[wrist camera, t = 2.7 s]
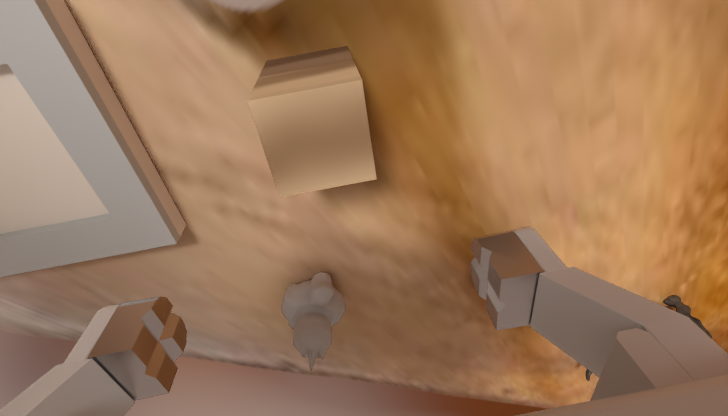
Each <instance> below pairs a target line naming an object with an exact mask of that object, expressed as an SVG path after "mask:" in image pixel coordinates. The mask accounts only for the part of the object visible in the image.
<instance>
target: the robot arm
mask: <svg viewBox="0 0 728 416" xmlns="http://www.w3.org/2000/svg"><path fill="white" fill-rule="evenodd" d="M471 250H472V252H473V254H474V256H475V257H474V259H473V260H472V261H471V275H472V280H473V284H474V286H475V289H476V291H477V293H478V295H479V296H480V297H481V298H483V299H485V300H486V311H487V313H488V315H489V317H490V319H491V321H492V323H493V325H494V327H495V329H496V330H502V329H508V328H515V327H521V326H527V325H530V327H531V328H532V329H534V330H535V331H536V332H538V333H539V334H540V335H542V336H543V337H545V338H546V339H547V340H549V341H550V342H551V343H553V344H554V345H555V346H557V347H558V348H560V349H561V350H562V351H564V352H565V353H566V354H568V355H569V356H571V357H572V358H573V359H575V360H576V361H577V362H579V363H580V364H581V365H583V366H584V367H586V368H587V369H588V370H590V371H591V372H592V373H594V374H595V375H596V376H598V377H599V380H598V382H597V385H596V388H595V390H594V393H593V395H592V398H591V400H590V401H588V402H583V403H578V404H573V405H568V406H562V407H557V408H552V409H547V410H542V411H537V412H532V413H527V414H521V415H517V416H728V354H727V353H726V352H725V351H724V350H723V349H722V348H721V347H720V346H719V345H718V344H717V343H715V342H714V341H713V340H712V339H711V338H710V337H709V336H708V335H707V334H706V333H705V332H704V331H703V330H701V329H700V328H699V327H698V326H697V325H696V324H695V323H694V322H693V321H692V320H691V319H690V318H689V317H687V316H685V315H682V314H680V313H678V312H676V311H673V310H671V309H669V308H666V307H664V306H662V305H660V304H657V303H655V302H653V301H650V300H648V299H646V298H644V297H641V296H639V295H637V294H634V293H632V292H630V291H628V290H625V289H623V288H621V287H618V286H616V285H614V284H612V283H609V282H607V281H605V280H602V279H600V278H598V277H596V276H593V275H591V274H589V273H586V272H584V271H582V270H580V269H577V268H575V267H570V268H567V267H566V265H565V264H564V263H563V262H562V261H561V260H560V258H559V257H558V256H557V255H556V254H555V253H554V251H553V250H552V249H551V248H550V247H549V246H548V245H547V243H546V242H545V241H544V240H543V239H542V238H541V236H540V235H539V234H538V233H537V232H536V231H535V230H534V228H532V227H530V226H529V227H524V228H519V229H514V230H510V231H506V232H501V233H495V234H490V235H485V236H480V237H475V238H473V239H472V242H471ZM172 307H173V306H172V304H171V303H170V302H169V300H168V299H167V298H166V297H156V298H150V299H144V300H138V301H132V302H126V303H123V304H116V305H110V306H104V307H103V308H101V309H99V310H98V311H97V312H96V314H95V315H94V317H93V319H92V320H91V322H90V323H89V325H88V326H87V328H86V329H85V331H84V332H83V334H82V335H81V337H80V339H79V340H78V342H77V343H76V345H75V346H74V348H73V349H72V351H71V352H70V354H69V356H68V357H67V359H66V360H65V362H64V363H63V364H59V365H56V366H55V367H54V368H52V369H51V370H50V371H49V372H47V373H46V374H45V375H44V376H42V377H41V378H40V379H38V380H37V381H36V382H35V383H33V384H32V385H31V386H30V387H28V388H27V389H26V390H24V391H23V392H22V393H21V394H19V395H18V396H17V397H16V398H14V399H13V400H12V401H10V402H9V403H8V404H7V405H5V406H4V407H3V408H2V409H0V416H124V415H125V414H126V413H127V412H128V410H129V409H130V408H131V407H132V406H133V404H134V403H135V400H140V399H144V398H148V397H153V396H158V395H162V394H167V393H169V391H170V388H171V386H172V383H173V380H174V377H175V374H176V372H177V366H176V364H175V360H176V359H177V358H178V357H179V356H180V355H181V354H182V353H183V351H184V348H185V345H186V337H187V331H186V327H185V324H184V322H183V320H182V319H181V317H179V316H177V315H175V314H173V313H171V310H172Z"/></svg>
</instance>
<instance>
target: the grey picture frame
mask: <svg viewBox="0 0 728 416" xmlns="http://www.w3.org/2000/svg"><path fill="white" fill-rule="evenodd" d="M185 226H186V223H185V221H184V220H183V218H182V216H181V214H180V212H179V210H178V209H177V207H176V205H175V203H174V201H173V199H172V198H171V196H170V194H169V192H168V190H167V188H166V187H165V185H164V183H163V181H162V179H161V177H160V176H159V174H158V172H157V170H156V168H155V166H154V165H153V163H152V161H151V159H150V157H149V155H148V154H147V152H146V150H145V148H144V146H143V144H142V143H141V141H140V139H139V137H138V135H137V133H136V132H135V130H134V128H133V126H132V124H131V122H130V121H129V119H128V117H127V115H126V113H125V111H124V110H123V108H122V106H121V104H120V102H119V100H118V99H117V97H116V95H115V93H114V91H113V89H112V87H111V86H110V84H109V82H108V80H107V78H106V76H105V75H104V73H103V71H102V69H101V67H100V65H99V64H98V62H97V60H96V58H95V56H94V54H93V53H92V51H91V49H90V47H89V45H88V43H87V42H86V40H85V38H84V36H83V34H82V32H81V31H80V29H79V27H78V25H77V23H76V21H75V20H74V18H73V16H72V14H71V12H70V10H69V9H68V7H67V5H66V3H65V1H64V0H0V277H5V276H10V275H15V274H20V273H26V272H31V271H36V270H41V269H47V268H52V267H57V266H63V265H68V264H73V263H78V262H84V261H89V260H94V259H99V258H105V257H110V256H115V255H120V254H126V253H131V252H136V251H141V250H147V249H152V248H157V247H162V246H168V245H173V244H177V243H178V241H179V239H180V237H181V235H182V233H183V231H184V228H185Z"/></svg>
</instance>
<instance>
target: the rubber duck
mask: <svg viewBox="0 0 728 416" xmlns="http://www.w3.org/2000/svg"><path fill="white" fill-rule="evenodd" d="M345 308H346V306H345V300H344V297H343V295H342V294H341V292H339V291H336V289H335V288H334V287H332V281H331V277H330V275H329V274H327V273H323V272H320V273H317V274H315V275H314V276H313V278H312V280H308V281H304V282H301V283H298V284H291V285H289V286H288V288H287V289H286V291H285V294H284V297H283V301H282V305H281V310H282V313H283V315H284V317H285V318H286V319H287V320H288V322H289V326H290V327H291V328H292V329H294V333H293V343H294V346H295V347H296V349H297V350H298V351H299V352H300V354H301V355H302V357H308V359H309V365H310V369H311V371H312V368H313V366H314V363H315V359H316V358H321V359H322V358H323V357H324V356H325V353H326V351H327V349H328V348H329V346H330V345H331V342H332V328H331V326H333V325H335V324H337V323H338V322H339V321H340V319H341V317H342V315H343V313H344V311H345Z"/></svg>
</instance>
